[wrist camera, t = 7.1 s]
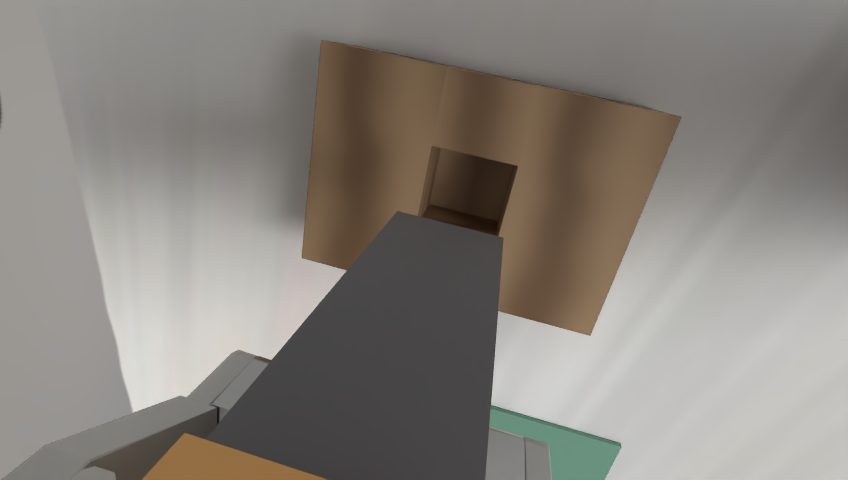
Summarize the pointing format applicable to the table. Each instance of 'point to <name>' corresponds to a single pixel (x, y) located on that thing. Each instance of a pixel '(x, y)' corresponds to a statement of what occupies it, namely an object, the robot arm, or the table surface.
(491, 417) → the mat
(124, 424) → the robot arm
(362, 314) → the plug
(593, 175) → the socket block
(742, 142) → the table surface
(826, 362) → the table surface
